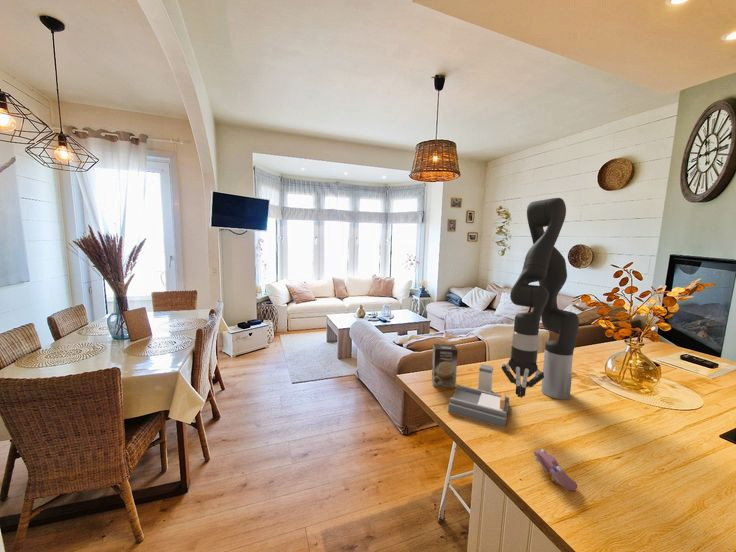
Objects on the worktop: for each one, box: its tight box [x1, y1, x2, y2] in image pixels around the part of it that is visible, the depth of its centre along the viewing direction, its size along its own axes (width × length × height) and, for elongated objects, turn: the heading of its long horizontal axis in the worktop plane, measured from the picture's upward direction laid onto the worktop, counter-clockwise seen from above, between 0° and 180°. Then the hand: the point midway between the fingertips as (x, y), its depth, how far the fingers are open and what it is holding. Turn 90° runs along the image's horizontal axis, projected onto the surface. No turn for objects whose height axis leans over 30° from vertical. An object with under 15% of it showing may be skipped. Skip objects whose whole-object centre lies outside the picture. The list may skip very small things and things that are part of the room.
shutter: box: [478, 391, 507, 411], centre depth 103 cm, size 8×9×4 cm
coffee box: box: [431, 343, 459, 388], centre depth 123 cm, size 9×6×16 cm
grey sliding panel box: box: [447, 384, 510, 429], centre depth 105 cm, size 18×15×4 cm
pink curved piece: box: [533, 448, 578, 492], centre depth 75 cm, size 10×5×7 cm, turn 5°
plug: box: [477, 364, 494, 393], centre depth 117 cm, size 4×4×10 cm
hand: (520, 396), depth 98 cm, fingers closed
